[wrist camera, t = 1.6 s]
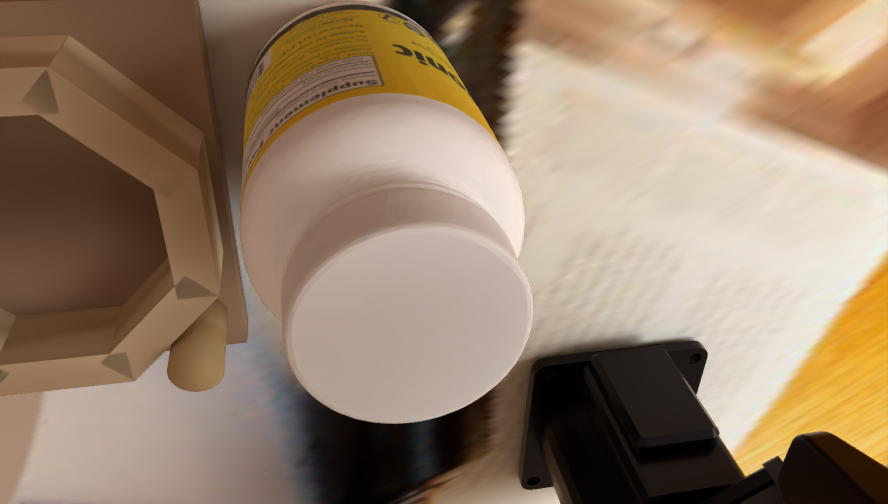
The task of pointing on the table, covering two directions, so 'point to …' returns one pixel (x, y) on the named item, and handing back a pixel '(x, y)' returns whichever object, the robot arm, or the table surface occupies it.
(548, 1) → the table surface
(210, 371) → the beige octagonal holder
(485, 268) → the supplement bottle
